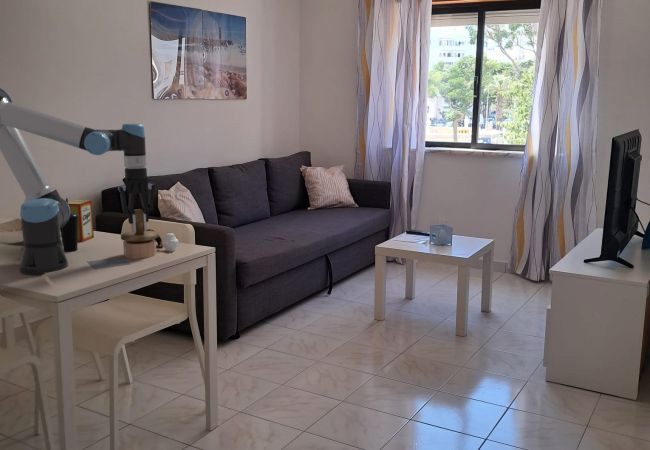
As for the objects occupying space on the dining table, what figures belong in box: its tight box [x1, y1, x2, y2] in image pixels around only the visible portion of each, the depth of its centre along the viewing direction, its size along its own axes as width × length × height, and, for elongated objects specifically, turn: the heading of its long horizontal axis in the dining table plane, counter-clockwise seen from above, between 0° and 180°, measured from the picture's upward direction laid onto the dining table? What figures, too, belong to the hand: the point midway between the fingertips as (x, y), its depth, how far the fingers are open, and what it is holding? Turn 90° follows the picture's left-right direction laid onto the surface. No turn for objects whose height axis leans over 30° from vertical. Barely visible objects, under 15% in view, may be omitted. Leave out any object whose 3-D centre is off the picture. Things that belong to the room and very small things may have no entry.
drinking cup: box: [60, 197, 79, 253], centre depth 251 cm, size 8×8×20 cm
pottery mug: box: [146, 228, 164, 249], centre depth 259 cm, size 12×10×8 cm
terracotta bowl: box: [122, 239, 157, 260], centre depth 242 cm, size 11×11×6 cm
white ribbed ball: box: [161, 232, 179, 252], centre depth 253 cm, size 6×6×7 cm
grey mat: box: [87, 256, 131, 270], centre depth 231 cm, size 12×12×1 cm
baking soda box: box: [68, 199, 95, 243], centre depth 271 cm, size 10×6×16 cm
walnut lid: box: [120, 208, 159, 242], centre depth 240 cm, size 13×13×10 cm
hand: (139, 231), depth 241 cm, fingers closed on walnut lid, 3 cm apart
